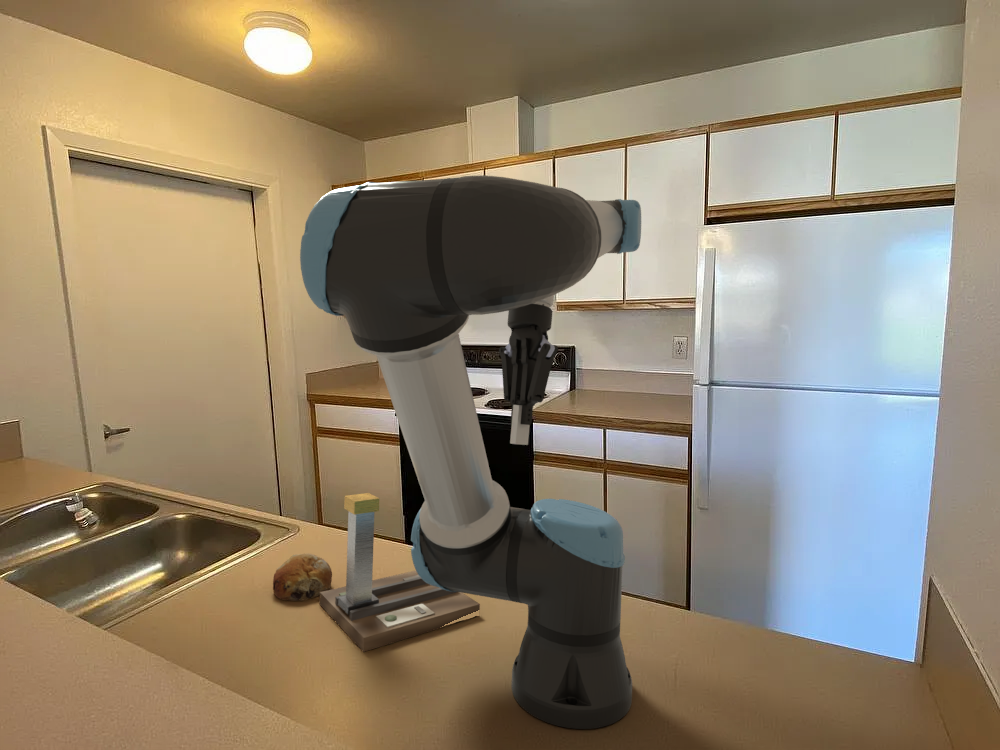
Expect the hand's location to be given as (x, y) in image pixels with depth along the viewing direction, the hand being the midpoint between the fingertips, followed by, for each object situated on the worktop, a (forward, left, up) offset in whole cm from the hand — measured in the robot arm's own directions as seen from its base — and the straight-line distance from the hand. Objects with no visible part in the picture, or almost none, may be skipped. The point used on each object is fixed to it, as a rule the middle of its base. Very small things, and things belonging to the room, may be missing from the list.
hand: (519, 444), depth 92 cm
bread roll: (+26, +27, -28) cm, 47 cm away
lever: (+10, +23, -25) cm, 36 cm away
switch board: (+10, +16, -28) cm, 34 cm away
